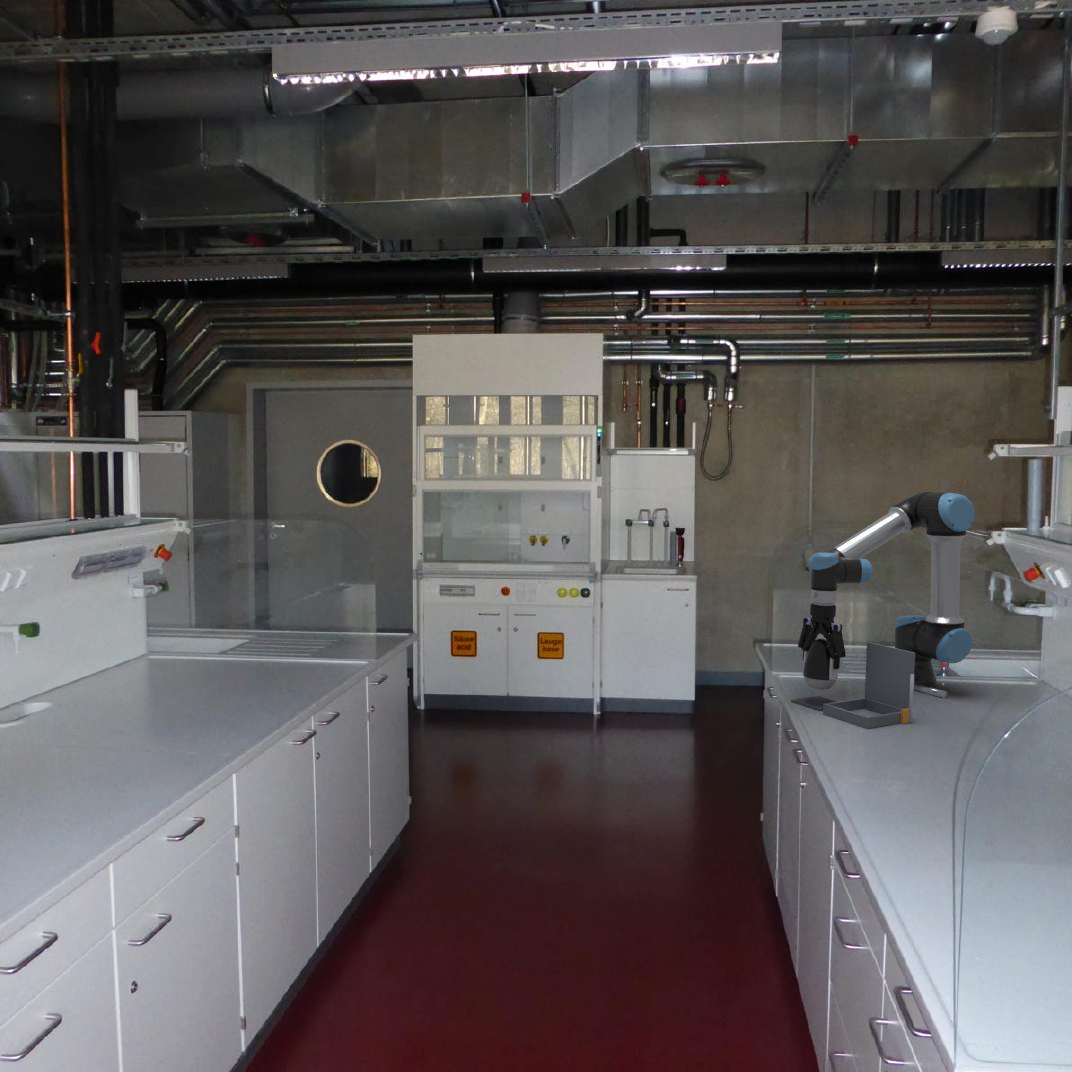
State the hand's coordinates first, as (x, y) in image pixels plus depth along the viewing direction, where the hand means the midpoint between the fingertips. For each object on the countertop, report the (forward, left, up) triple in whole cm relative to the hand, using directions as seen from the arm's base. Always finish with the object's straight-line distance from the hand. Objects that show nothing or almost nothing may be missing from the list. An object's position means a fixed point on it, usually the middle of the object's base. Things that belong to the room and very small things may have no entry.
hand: (820, 675), depth 292 cm
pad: (0, 0, -9) cm, 9 cm away
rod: (-42, +6, -7) cm, 43 cm away
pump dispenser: (0, 0, -4) cm, 4 cm away
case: (-1, +18, -9) cm, 20 cm away
